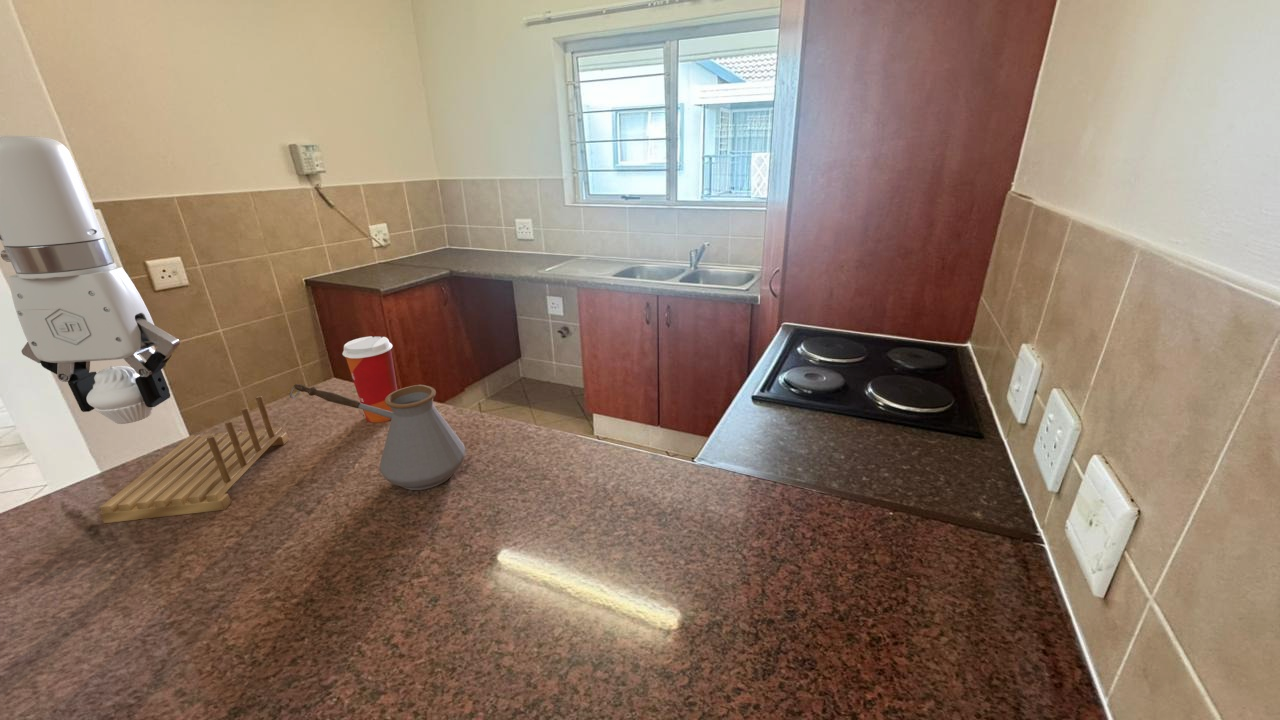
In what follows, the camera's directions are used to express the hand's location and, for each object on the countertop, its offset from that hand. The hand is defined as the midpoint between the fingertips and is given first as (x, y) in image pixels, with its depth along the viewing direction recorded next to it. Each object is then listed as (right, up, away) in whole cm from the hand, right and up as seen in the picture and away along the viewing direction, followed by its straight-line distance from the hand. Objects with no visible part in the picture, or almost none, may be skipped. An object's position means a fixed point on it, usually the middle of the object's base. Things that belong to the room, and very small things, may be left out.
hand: (127, 403), depth 62 cm
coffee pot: (+27, -12, +11) cm, 32 cm away
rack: (0, -12, +12) cm, 17 cm away
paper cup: (+17, -5, +29) cm, 34 cm away
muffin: (0, -2, +1) cm, 2 cm away
